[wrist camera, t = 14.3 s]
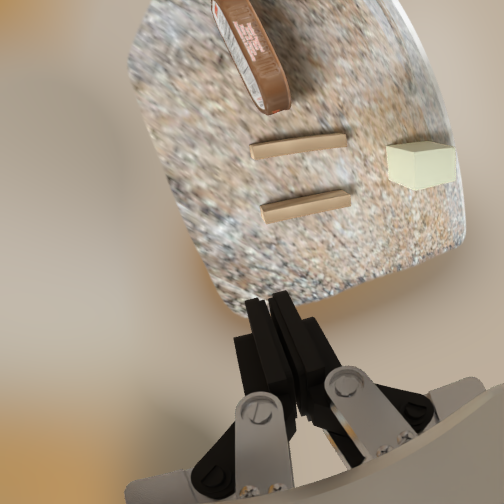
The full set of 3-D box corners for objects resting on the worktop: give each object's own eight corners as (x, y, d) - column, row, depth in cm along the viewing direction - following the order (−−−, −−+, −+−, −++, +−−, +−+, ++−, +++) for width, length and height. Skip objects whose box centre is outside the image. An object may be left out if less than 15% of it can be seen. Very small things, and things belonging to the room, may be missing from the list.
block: (385, 145, 32) (413, 152, 27) (427, 140, 33) (455, 147, 27) (388, 179, 34) (415, 191, 29) (429, 171, 35) (455, 180, 30)
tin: (279, 110, 28) (306, 106, 21) (254, 119, 28) (273, 117, 21) (229, 5, 21) (240, -28, 14) (204, 13, 21) (206, -19, 14)
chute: (249, 144, 29) (253, 146, 27) (336, 133, 30) (345, 134, 28) (261, 217, 34) (266, 224, 31) (341, 200, 34) (350, 206, 32)
